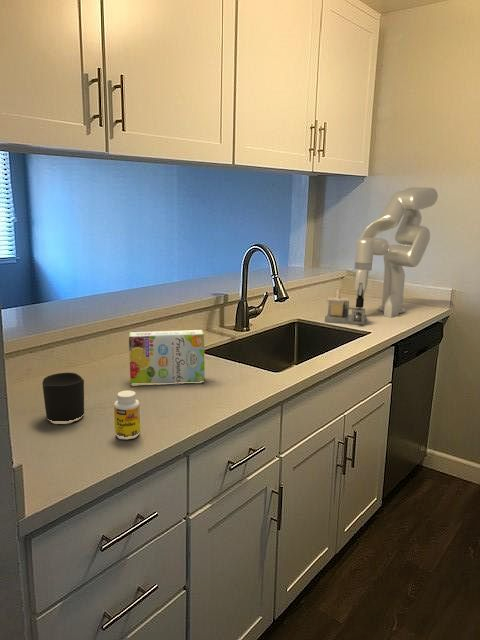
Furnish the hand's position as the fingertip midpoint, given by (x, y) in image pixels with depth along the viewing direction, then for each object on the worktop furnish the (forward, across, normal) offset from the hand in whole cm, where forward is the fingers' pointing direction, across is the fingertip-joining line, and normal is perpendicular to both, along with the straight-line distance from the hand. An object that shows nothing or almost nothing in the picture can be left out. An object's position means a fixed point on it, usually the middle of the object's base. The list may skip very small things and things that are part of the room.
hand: (359, 307), depth 238 cm
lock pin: (+3, +11, +1) cm, 12 cm away
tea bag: (+5, -9, +14) cm, 17 cm away
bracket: (+5, +8, -5) cm, 11 cm away
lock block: (+4, +8, -9) cm, 13 cm away
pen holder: (+10, +136, -60) cm, 149 cm away
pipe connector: (+5, -13, -11) cm, 18 cm away
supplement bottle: (+10, +140, -41) cm, 146 cm away
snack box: (+9, +105, -47) cm, 115 cm away
